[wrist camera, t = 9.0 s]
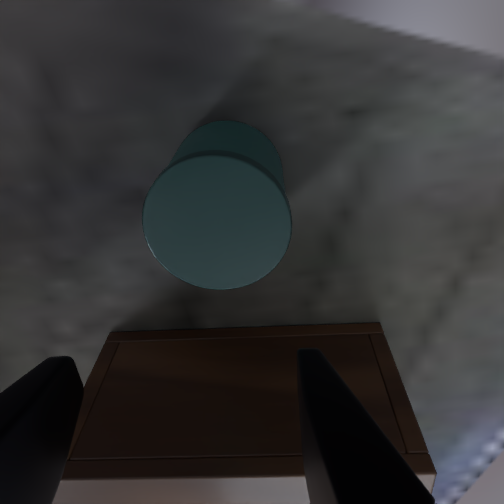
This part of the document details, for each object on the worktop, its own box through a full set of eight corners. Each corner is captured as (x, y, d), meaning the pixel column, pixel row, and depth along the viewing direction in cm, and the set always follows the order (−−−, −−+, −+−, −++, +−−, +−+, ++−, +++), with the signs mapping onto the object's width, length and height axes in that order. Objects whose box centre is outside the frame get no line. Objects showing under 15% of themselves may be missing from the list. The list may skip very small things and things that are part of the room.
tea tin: (180, 229, 19) (155, 293, 15) (162, 121, 17) (127, 159, 12) (286, 224, 19) (293, 287, 14) (283, 114, 16) (290, 150, 12)
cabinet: (362, 481, 28) (396, 637, 21) (155, 484, 29) (120, 637, 22) (380, 321, 21) (437, 473, 14) (109, 331, 22) (38, 480, 15)
